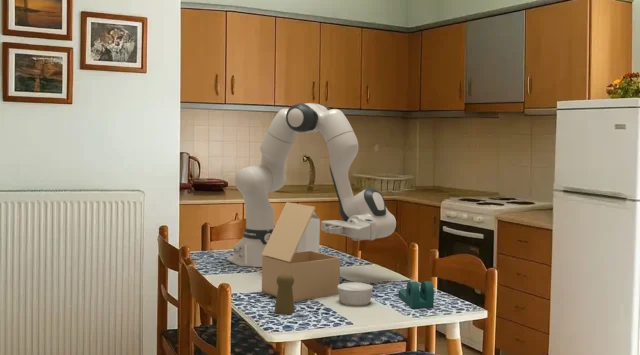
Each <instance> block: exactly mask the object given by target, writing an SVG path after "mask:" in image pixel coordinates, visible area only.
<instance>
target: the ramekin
mask: <svg viewBox="0 0 640 355" xmlns="http://www.w3.org/2000/svg"><path fill="white" fill-rule="evenodd" d="M337 289H338V293H339V294H338V298H339V302H340V303H341V304H343V305H346V306H351V307H353V306H354V307H359V306H360V307H361V306H366V305H368V304H369V303H371V299H372V295H373V294H372V293H373V291H374V287H373V285H371V284H368V283H365V282H355V281H354V282H351V281H350V282H344V283H340V284H339V285H338V286H337Z"/></svg>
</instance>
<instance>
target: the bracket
mask: <svg viewBox="0 0 640 355" xmlns="http://www.w3.org/2000/svg"><path fill="white" fill-rule="evenodd" d="M434 290H435V289H434V284H433V283H432V281H429V280H427V281H426V280H425V281H424V280H423V281H421V283H420V285H419V282H418V281H414V280H413V281H407V283H406V287H405V288H400V289H398V295H397V296H398V298H399V299H400V300H402V302H403V303H405V304H406V306H408V307H409V308H410V309H412V310H421V309H420V308H433V309H434V300H435V299H434V298H435V297H434V296H435V291H434Z"/></svg>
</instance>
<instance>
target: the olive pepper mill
mask: <svg viewBox="0 0 640 355" xmlns="http://www.w3.org/2000/svg"><path fill="white" fill-rule="evenodd" d="M293 284H294V278H293V276H292V275H288V274H282V275H279V276H278V277H277V285H278V292H277V297H275V298H276V299H275V307H274V313H276V314H279V315H291V314H295V313H296V310H295V302H294V299H293V290H292V286H293Z"/></svg>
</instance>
